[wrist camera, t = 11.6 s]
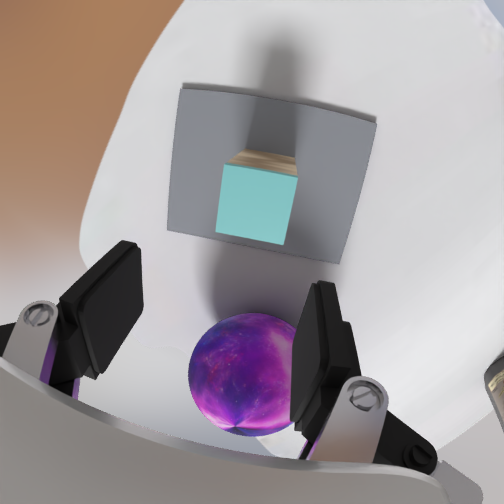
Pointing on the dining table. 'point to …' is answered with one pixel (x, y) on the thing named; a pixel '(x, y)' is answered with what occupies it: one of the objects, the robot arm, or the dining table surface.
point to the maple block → (257, 196)
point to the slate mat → (277, 142)
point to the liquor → (496, 388)
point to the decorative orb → (244, 374)
